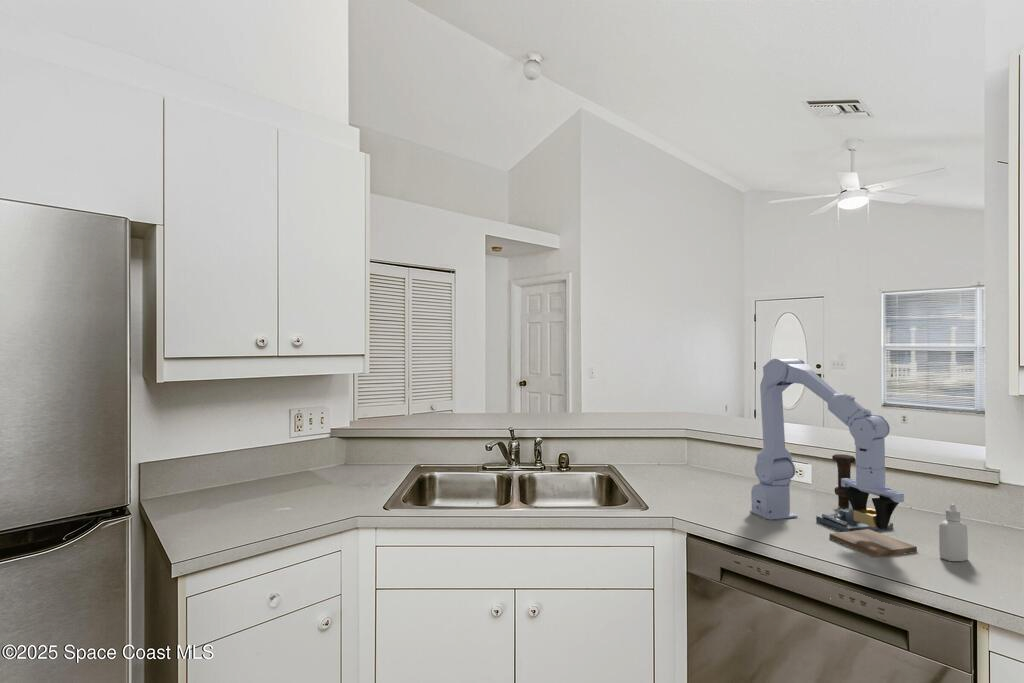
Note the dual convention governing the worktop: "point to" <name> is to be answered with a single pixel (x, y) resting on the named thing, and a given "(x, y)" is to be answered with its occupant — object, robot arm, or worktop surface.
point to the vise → (846, 521)
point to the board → (873, 543)
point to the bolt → (843, 472)
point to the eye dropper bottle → (953, 536)
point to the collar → (866, 517)
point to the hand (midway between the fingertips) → (871, 524)
